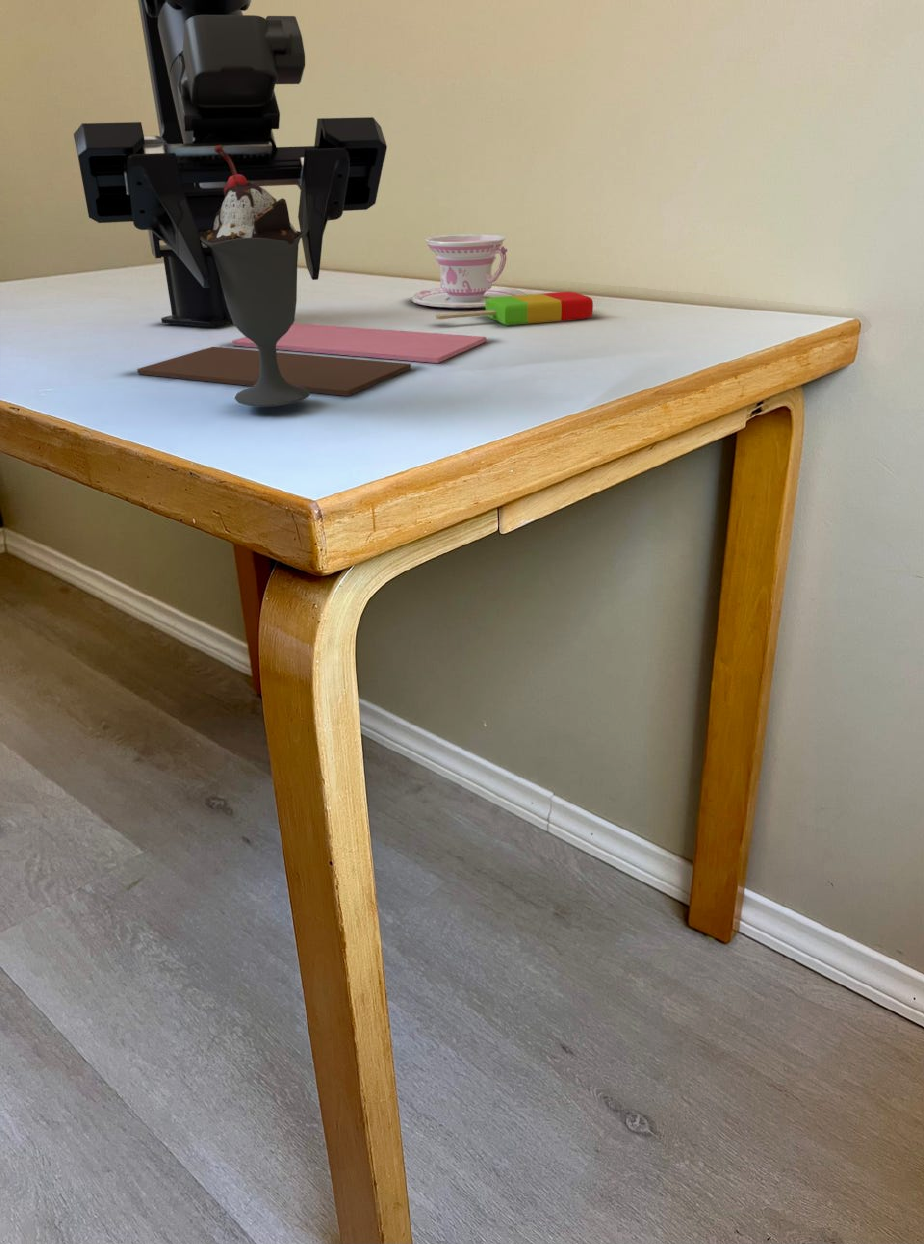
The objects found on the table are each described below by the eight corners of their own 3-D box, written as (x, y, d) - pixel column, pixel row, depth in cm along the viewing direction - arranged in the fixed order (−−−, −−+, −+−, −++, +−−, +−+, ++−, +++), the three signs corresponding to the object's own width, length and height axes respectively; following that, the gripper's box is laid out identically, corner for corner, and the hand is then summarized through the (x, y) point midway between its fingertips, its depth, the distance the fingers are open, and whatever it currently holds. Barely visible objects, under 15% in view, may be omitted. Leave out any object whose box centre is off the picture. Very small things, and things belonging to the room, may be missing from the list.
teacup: (387, 304, 101) (384, 241, 98) (454, 289, 109) (453, 230, 107) (483, 314, 94) (483, 246, 92) (546, 296, 103) (547, 234, 100)
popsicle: (597, 318, 91) (598, 298, 90) (445, 331, 87) (444, 310, 86) (572, 309, 96) (573, 290, 95) (427, 321, 91) (426, 301, 91)
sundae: (227, 386, 67) (194, 144, 60) (324, 382, 67) (303, 141, 60) (213, 412, 61) (175, 147, 54) (320, 407, 61) (296, 144, 54)
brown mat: (137, 374, 74) (136, 368, 74) (213, 351, 81) (212, 346, 81) (348, 396, 67) (347, 390, 66) (411, 368, 74) (411, 363, 73)
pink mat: (232, 345, 83) (231, 340, 83) (292, 327, 90) (292, 322, 90) (438, 363, 75) (437, 357, 75) (486, 341, 82) (486, 336, 82)
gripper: (41, -42, 53) (84, 189, 49) (369, -33, 59) (432, 175, 55) (70, 119, 64) (108, 322, 59) (347, 114, 69) (399, 299, 65)
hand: (261, 279), depth 59 cm, fingers closed on sundae, 6 cm apart
